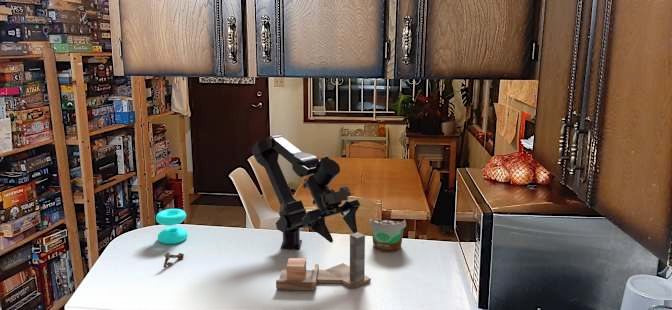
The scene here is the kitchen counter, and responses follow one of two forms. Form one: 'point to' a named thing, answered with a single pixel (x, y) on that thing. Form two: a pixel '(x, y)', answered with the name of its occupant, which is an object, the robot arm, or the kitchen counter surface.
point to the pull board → (333, 271)
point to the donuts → (171, 233)
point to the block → (296, 269)
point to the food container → (387, 234)
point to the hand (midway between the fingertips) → (344, 237)
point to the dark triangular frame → (172, 257)
